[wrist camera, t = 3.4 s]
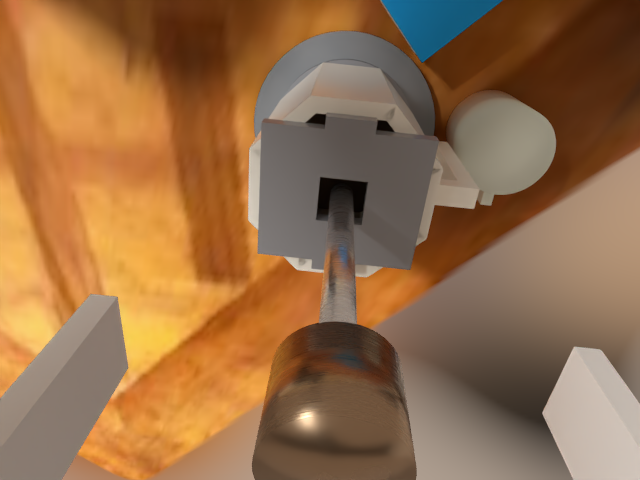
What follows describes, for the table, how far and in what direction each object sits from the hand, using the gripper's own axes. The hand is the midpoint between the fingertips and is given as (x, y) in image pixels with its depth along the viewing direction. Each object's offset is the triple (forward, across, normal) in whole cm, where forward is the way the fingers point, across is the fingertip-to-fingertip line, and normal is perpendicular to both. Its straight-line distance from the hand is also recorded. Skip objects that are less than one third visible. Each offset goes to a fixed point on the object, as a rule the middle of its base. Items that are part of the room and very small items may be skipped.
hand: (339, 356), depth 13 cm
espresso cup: (+26, +11, +1) cm, 28 cm away
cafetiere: (+25, +1, 0) cm, 25 cm away
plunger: (+12, 0, 0) cm, 12 cm away
